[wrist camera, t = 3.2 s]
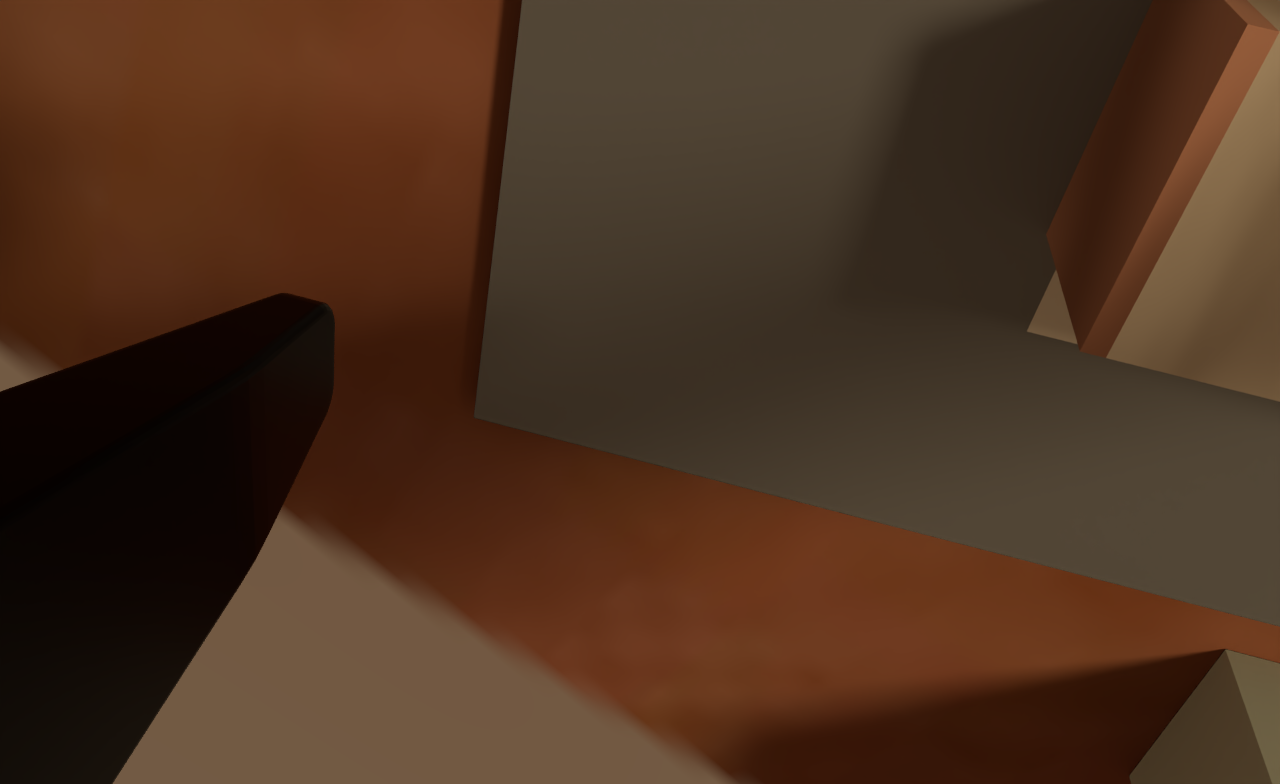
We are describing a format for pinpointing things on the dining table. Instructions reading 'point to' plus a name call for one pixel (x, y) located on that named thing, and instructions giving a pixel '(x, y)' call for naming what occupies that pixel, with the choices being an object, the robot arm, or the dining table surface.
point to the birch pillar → (1183, 202)
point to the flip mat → (855, 281)
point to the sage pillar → (1222, 729)
